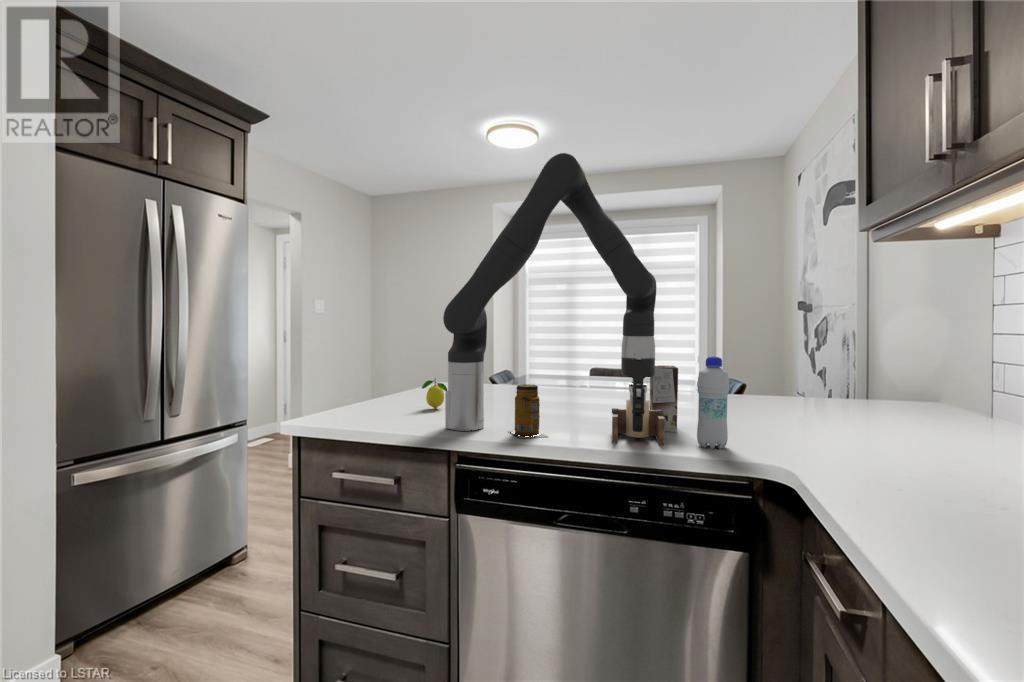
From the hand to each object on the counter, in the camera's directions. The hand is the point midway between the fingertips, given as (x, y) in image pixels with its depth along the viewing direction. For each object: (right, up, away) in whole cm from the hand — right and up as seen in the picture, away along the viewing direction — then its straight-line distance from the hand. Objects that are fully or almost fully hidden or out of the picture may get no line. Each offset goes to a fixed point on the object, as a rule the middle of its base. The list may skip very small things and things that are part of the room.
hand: (637, 428), depth 117 cm
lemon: (-53, -1, +42) cm, 68 cm away
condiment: (-25, -3, +7) cm, 26 cm away
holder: (+1, -3, +2) cm, 3 cm away
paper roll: (0, -2, 0) cm, 2 cm away
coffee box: (+10, -3, +14) cm, 18 cm away
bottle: (+15, -3, -5) cm, 16 cm away
